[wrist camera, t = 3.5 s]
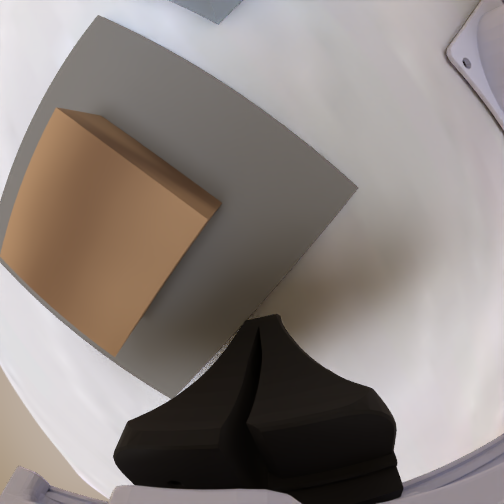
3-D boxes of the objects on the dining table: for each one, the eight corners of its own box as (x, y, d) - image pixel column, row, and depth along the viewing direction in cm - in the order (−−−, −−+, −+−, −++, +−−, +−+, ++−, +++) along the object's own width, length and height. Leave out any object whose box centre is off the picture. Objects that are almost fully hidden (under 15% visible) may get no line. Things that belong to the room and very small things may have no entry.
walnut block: (222, 203, 11) (207, 219, 8) (142, 317, 12) (114, 357, 9) (100, 115, 10) (56, 107, 7) (42, 235, 11) (-1, 256, 8)
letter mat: (355, 186, 11) (358, 187, 10) (174, 394, 14) (172, 399, 14) (102, 18, 9) (97, 15, 8) (-8, 246, 12) (-12, 249, 12)
